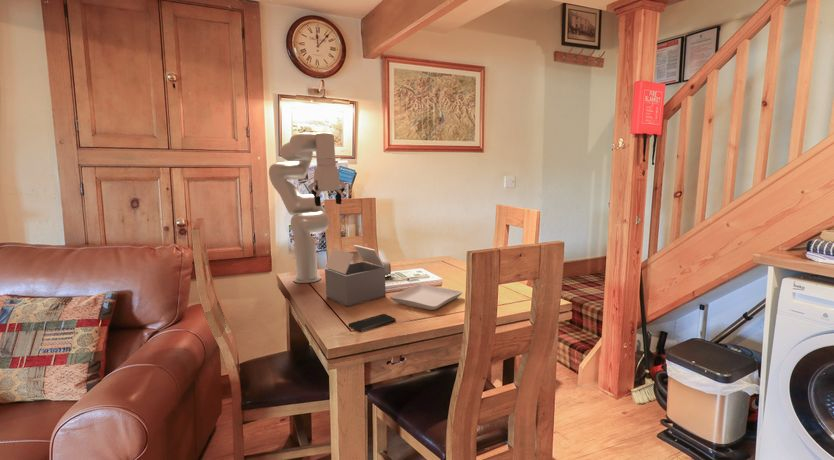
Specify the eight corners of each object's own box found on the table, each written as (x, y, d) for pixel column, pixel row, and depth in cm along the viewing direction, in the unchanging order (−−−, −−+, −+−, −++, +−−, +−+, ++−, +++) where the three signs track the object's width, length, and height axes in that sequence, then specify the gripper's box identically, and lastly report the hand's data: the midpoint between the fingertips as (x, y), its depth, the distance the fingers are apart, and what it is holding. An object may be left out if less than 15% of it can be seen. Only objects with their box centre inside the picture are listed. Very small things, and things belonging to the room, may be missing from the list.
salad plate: (463, 298, 174) (463, 290, 174) (435, 315, 157) (435, 305, 156) (419, 291, 186) (419, 283, 186) (388, 305, 169) (388, 296, 168)
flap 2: (353, 245, 184) (354, 244, 184) (362, 260, 188) (363, 259, 188) (373, 250, 173) (374, 249, 173) (383, 266, 177) (384, 265, 177)
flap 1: (353, 254, 167) (352, 253, 167) (345, 274, 166) (344, 273, 165) (334, 248, 178) (333, 248, 178) (326, 267, 177) (325, 267, 176)
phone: (397, 319, 151) (359, 330, 141) (397, 322, 151) (359, 333, 142) (384, 313, 157) (346, 323, 148) (384, 316, 157) (347, 326, 148)
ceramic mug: (391, 278, 206) (391, 262, 205) (374, 279, 204) (373, 263, 203) (388, 273, 216) (388, 258, 215) (371, 274, 214) (371, 259, 213)
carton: (326, 297, 179) (324, 268, 177) (363, 288, 190) (362, 261, 189) (347, 306, 167) (345, 276, 165) (385, 296, 178) (384, 267, 177)
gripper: (339, 163, 189) (341, 202, 191) (302, 164, 177) (305, 206, 180) (349, 162, 183) (351, 203, 186) (311, 163, 172) (314, 207, 174)
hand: (328, 205), depth 183 cm, fingers open, 9 cm apart
